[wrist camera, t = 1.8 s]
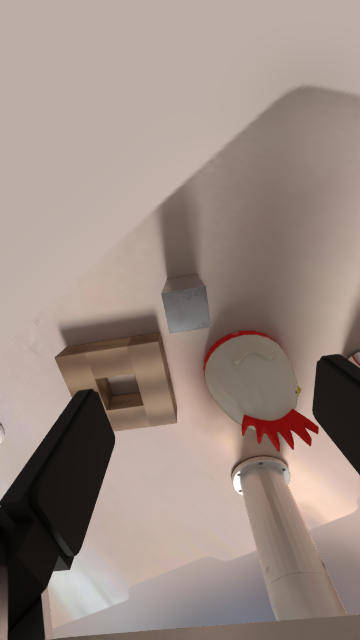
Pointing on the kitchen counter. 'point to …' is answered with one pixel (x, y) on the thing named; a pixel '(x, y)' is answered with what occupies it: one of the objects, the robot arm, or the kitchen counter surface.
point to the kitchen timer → (256, 386)
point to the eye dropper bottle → (1, 434)
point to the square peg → (186, 304)
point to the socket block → (120, 359)
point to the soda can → (355, 359)
